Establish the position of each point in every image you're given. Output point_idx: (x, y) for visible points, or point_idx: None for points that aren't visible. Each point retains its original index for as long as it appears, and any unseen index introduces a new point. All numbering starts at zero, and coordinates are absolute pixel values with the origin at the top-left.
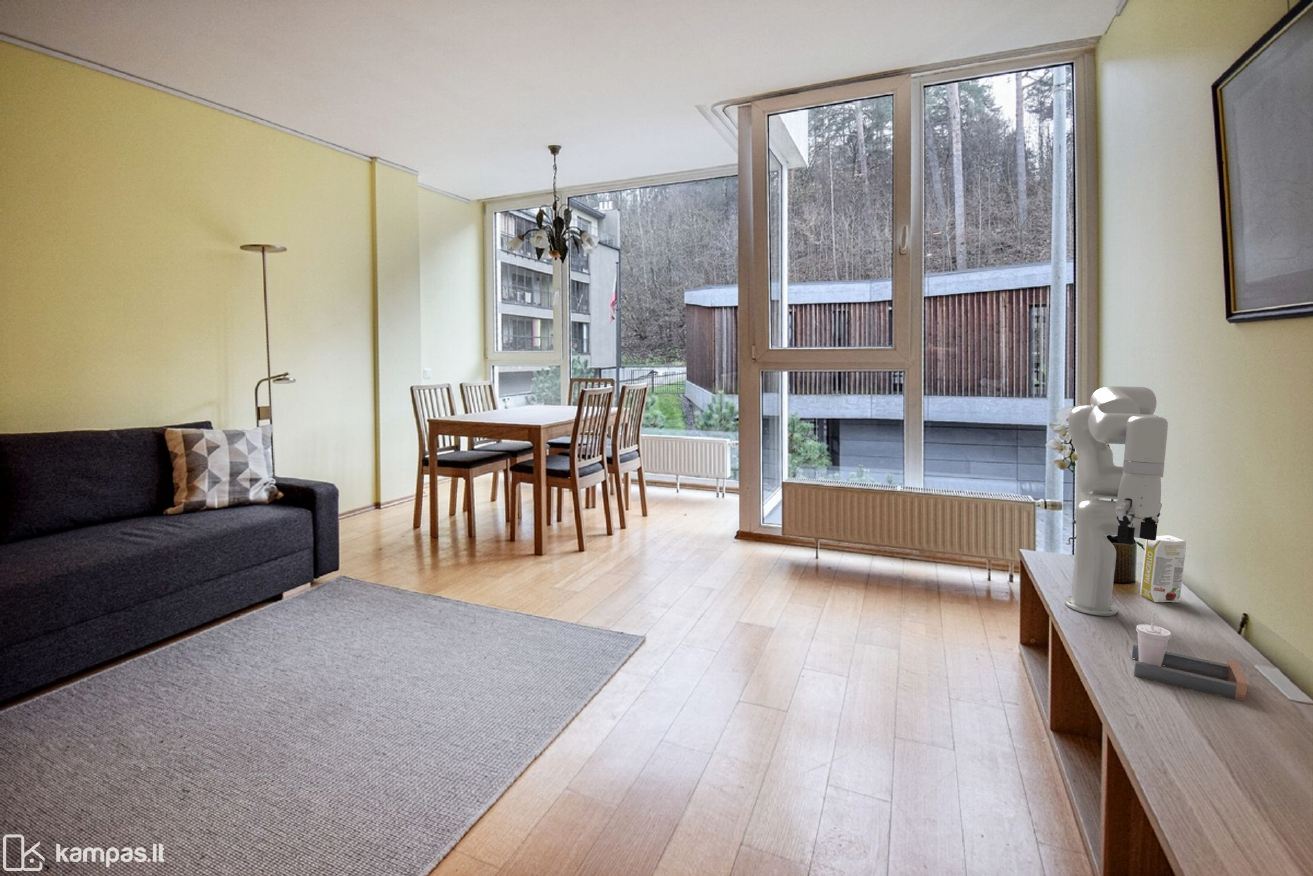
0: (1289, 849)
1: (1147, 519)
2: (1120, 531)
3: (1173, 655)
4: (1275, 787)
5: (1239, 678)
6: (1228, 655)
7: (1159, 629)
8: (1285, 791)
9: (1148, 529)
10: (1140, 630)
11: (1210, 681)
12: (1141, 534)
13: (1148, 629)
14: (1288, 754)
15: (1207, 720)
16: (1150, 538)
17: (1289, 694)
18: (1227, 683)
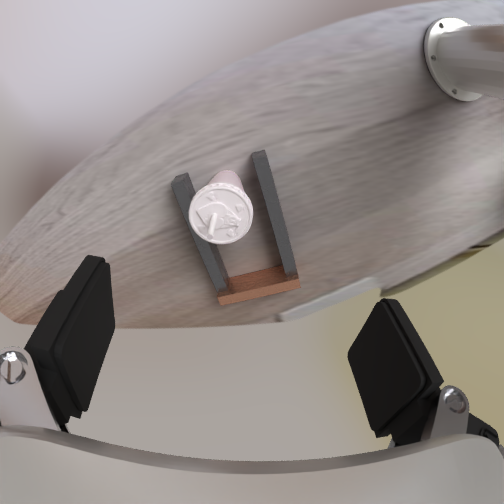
0: (19, 319)
1: (422, 426)
2: (40, 326)
3: (269, 216)
4: None
5: (232, 297)
6: (386, 251)
7: (229, 225)
8: None
9: (380, 381)
10: (193, 199)
11: (207, 269)
12: (383, 321)
13: (207, 210)
14: (129, 321)
15: (126, 269)
16: (354, 349)
17: (295, 312)
18: (216, 285)
